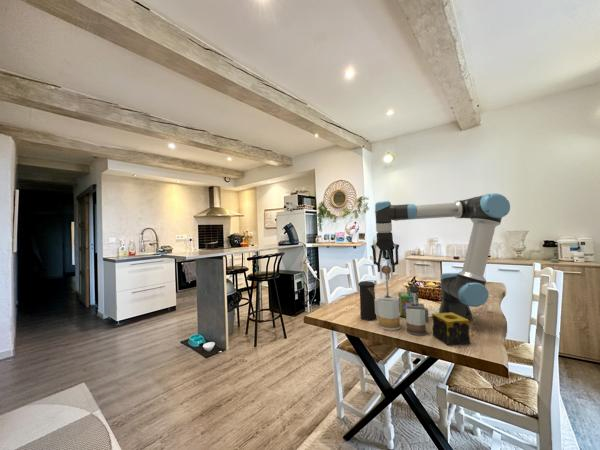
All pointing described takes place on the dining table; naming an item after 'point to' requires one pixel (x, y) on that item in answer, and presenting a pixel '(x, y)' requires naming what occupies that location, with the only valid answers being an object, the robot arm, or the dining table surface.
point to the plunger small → (414, 291)
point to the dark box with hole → (451, 328)
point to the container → (367, 300)
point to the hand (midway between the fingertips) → (386, 278)
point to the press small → (416, 319)
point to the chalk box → (405, 301)
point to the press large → (388, 312)
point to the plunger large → (386, 271)
